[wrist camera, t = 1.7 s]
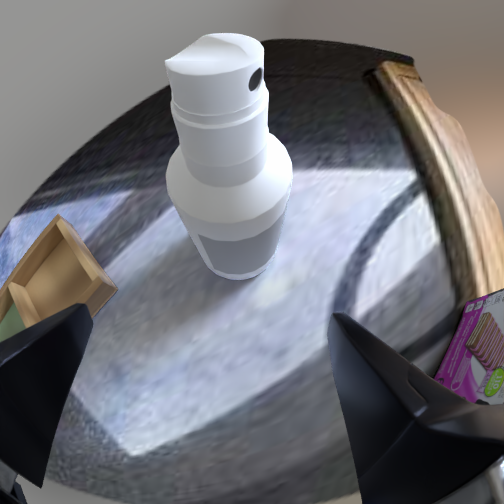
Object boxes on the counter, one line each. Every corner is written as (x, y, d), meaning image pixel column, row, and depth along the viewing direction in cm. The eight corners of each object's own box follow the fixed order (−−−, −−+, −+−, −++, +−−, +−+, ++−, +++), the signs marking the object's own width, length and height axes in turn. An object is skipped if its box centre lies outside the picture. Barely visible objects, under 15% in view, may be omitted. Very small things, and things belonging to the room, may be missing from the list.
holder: (118, 289, 23) (103, 281, 20) (24, 405, 18) (8, 406, 15) (72, 224, 25) (58, 213, 22) (-9, 336, 20) (-25, 333, 18)
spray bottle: (252, 296, 23) (249, 143, 6) (185, 256, 24) (81, 91, 7) (290, 230, 25) (340, 42, 8) (226, 197, 26) (197, 13, 9)
